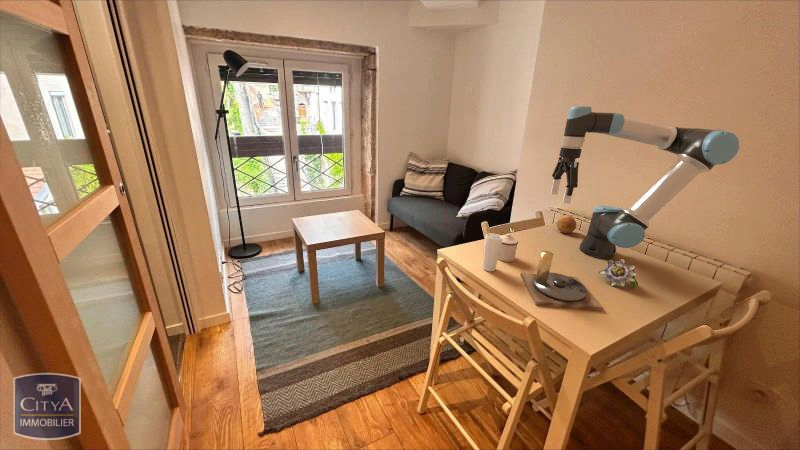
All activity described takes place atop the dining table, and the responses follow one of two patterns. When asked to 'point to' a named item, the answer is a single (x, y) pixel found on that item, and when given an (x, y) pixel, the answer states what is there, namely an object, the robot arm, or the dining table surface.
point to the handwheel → (557, 282)
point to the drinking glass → (491, 251)
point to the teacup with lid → (508, 248)
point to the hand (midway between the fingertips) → (559, 198)
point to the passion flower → (619, 273)
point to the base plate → (544, 300)
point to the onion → (566, 224)
